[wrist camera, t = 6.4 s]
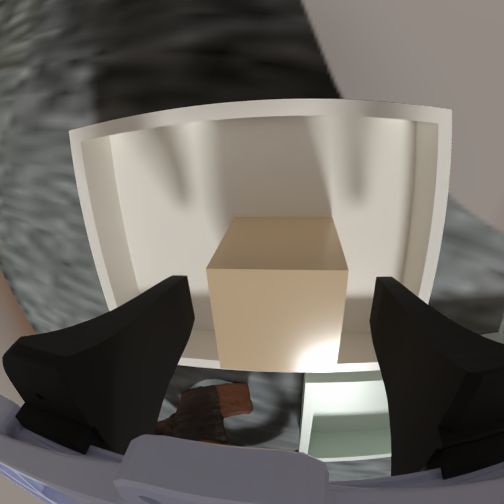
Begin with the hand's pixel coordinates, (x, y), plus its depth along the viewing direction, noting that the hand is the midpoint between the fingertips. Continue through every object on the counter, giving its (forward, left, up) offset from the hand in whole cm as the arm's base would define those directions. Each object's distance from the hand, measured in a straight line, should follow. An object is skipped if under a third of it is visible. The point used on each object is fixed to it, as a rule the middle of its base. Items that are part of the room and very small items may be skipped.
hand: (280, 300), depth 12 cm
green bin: (-8, +10, -4) cm, 14 cm away
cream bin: (+1, -1, -4) cm, 4 cm away
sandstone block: (0, 0, -4) cm, 4 cm away
